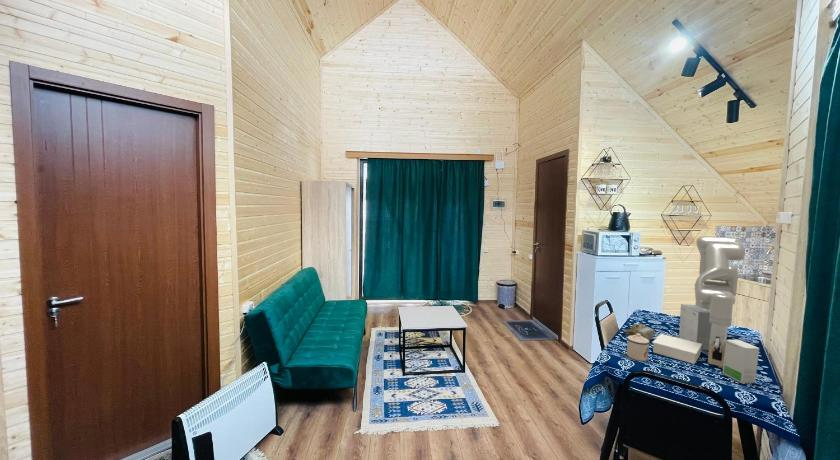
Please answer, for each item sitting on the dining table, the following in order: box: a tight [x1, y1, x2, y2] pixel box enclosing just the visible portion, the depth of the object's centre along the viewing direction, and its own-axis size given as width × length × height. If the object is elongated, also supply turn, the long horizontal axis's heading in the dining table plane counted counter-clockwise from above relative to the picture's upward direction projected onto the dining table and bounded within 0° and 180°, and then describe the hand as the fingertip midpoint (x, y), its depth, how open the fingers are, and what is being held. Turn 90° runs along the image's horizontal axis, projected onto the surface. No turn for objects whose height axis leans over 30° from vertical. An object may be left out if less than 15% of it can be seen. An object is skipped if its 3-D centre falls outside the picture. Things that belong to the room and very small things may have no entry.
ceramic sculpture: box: [621, 322, 655, 341], centre depth 180 cm, size 11×9×15 cm
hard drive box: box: [678, 303, 712, 352], centre depth 170 cm, size 16×8×20 cm, turn 168°
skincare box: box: [722, 339, 760, 384], centre depth 135 cm, size 8×7×16 cm
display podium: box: [652, 333, 702, 365], centre depth 160 cm, size 17×17×5 cm
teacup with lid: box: [626, 333, 650, 362], centre depth 156 cm, size 12×9×12 cm
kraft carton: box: [707, 340, 726, 368], centre depth 149 cm, size 5×6×11 cm
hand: (717, 357), depth 149 cm, fingers open, 5 cm apart
